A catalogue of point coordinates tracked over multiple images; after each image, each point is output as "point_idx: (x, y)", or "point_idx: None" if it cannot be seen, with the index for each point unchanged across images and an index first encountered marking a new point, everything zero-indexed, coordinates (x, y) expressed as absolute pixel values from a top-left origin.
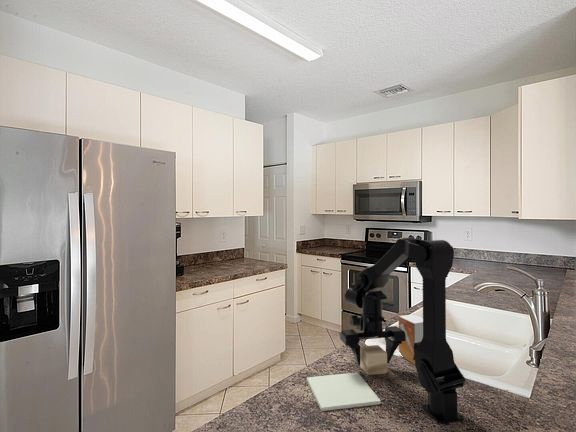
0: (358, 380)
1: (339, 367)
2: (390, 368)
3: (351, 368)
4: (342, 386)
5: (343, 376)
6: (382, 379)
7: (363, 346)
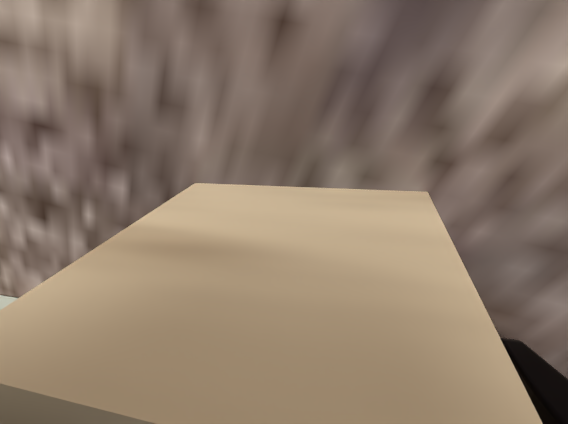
0: None
1: (17, 167)
2: (504, 320)
3: (113, 211)
4: None
5: None
6: None
7: (10, 399)
